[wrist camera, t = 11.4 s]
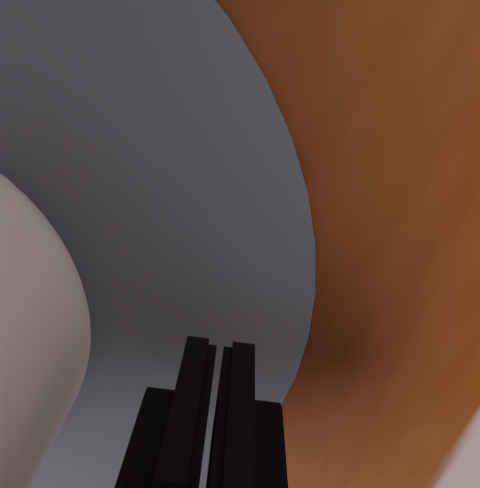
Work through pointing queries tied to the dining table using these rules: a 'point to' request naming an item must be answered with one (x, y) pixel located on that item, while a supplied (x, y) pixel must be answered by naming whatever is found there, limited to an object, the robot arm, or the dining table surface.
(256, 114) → the mat
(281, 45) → the dining table surface
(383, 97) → the dining table surface
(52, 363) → the cup
